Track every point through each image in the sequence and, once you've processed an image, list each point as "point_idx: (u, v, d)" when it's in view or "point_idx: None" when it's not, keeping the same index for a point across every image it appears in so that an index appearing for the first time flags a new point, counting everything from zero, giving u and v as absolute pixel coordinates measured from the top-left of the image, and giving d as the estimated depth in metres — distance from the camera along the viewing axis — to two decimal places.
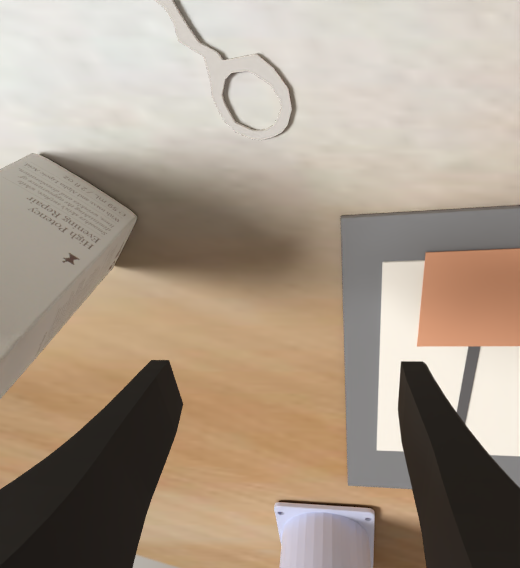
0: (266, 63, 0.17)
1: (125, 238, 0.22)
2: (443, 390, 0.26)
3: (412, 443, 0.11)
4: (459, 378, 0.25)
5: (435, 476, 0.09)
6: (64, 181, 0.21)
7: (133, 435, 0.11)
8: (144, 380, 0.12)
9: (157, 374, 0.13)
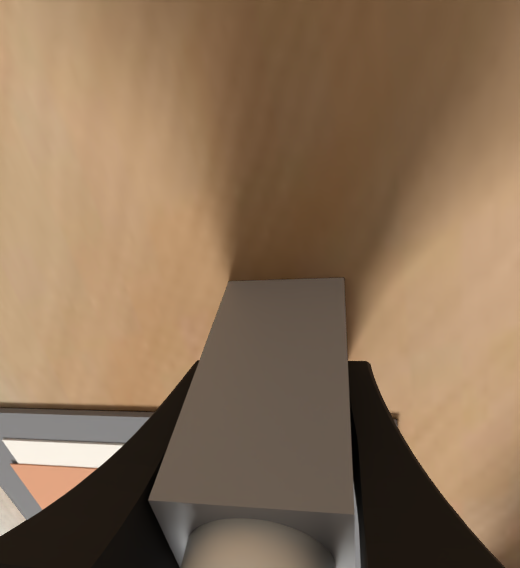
0: None
1: None
2: None
3: (351, 441, 0.11)
4: None
5: (359, 472, 0.09)
6: None
7: None
8: None
9: None
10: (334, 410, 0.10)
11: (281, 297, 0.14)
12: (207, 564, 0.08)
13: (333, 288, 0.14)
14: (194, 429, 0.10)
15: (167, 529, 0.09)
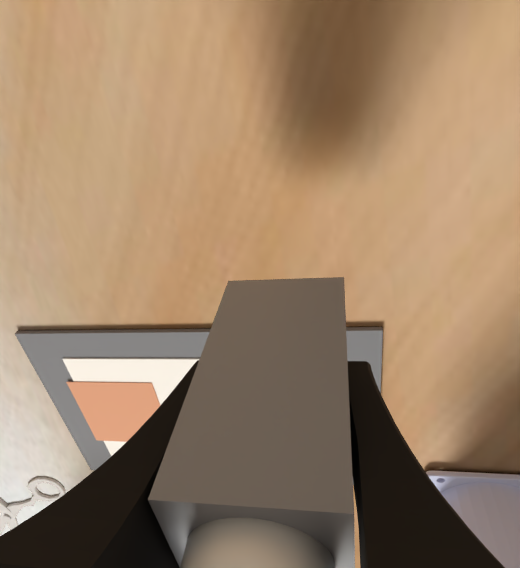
0: (29, 483, 0.37)
1: None
2: None
3: (351, 441, 0.11)
4: None
5: (359, 472, 0.09)
6: None
7: None
8: None
9: None
10: (334, 409, 0.10)
11: (281, 297, 0.14)
12: (207, 563, 0.08)
13: (333, 288, 0.14)
14: (194, 429, 0.10)
15: (167, 528, 0.09)
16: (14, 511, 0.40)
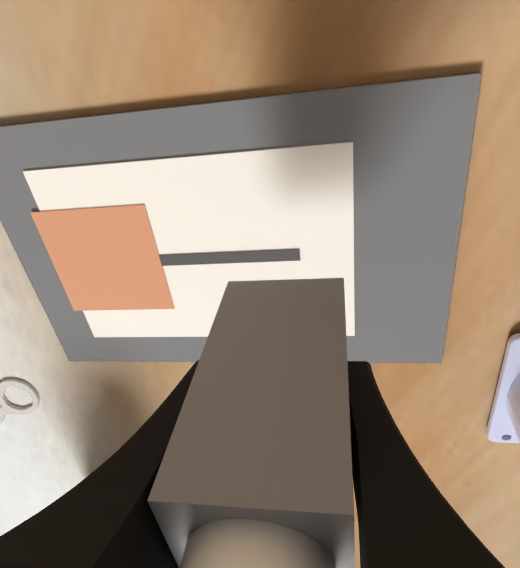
0: None
1: None
2: (233, 278, 0.21)
3: (351, 441, 0.11)
4: (213, 264, 0.21)
5: (359, 472, 0.09)
6: None
7: None
8: None
9: None
10: (334, 410, 0.10)
11: (281, 297, 0.14)
12: (206, 565, 0.08)
13: (333, 288, 0.14)
14: (193, 429, 0.10)
15: (166, 530, 0.09)
16: None
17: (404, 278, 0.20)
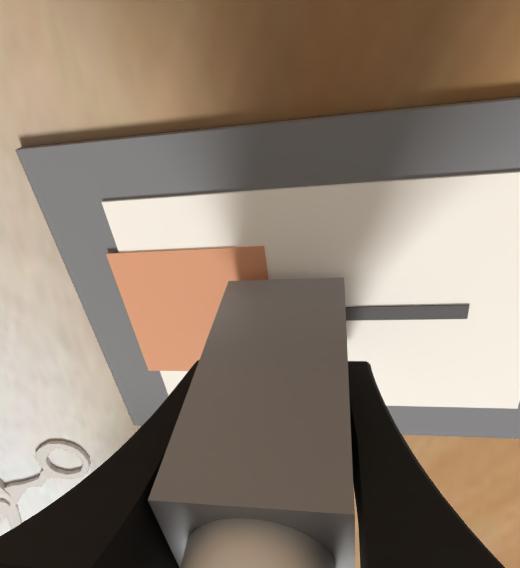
0: (37, 451, 0.25)
1: None
2: (367, 338, 0.16)
3: (351, 441, 0.11)
4: None
5: (359, 472, 0.09)
6: None
7: None
8: None
9: None
10: (334, 410, 0.10)
11: (281, 297, 0.14)
12: (207, 564, 0.08)
13: (333, 288, 0.14)
14: (194, 429, 0.10)
15: (167, 529, 0.09)
16: (14, 494, 0.28)
17: None
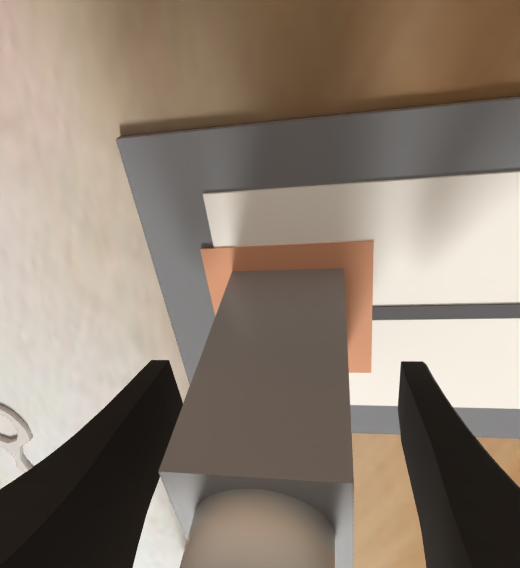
0: None
1: None
2: (470, 338, 0.16)
3: (412, 443, 0.11)
4: (446, 319, 0.16)
5: (435, 476, 0.09)
6: None
7: (133, 435, 0.11)
8: (144, 380, 0.12)
9: (157, 374, 0.13)
10: (335, 390, 0.10)
11: (283, 286, 0.14)
12: (215, 530, 0.08)
13: (333, 278, 0.14)
14: (201, 407, 0.10)
15: (175, 500, 0.09)
16: None
17: None
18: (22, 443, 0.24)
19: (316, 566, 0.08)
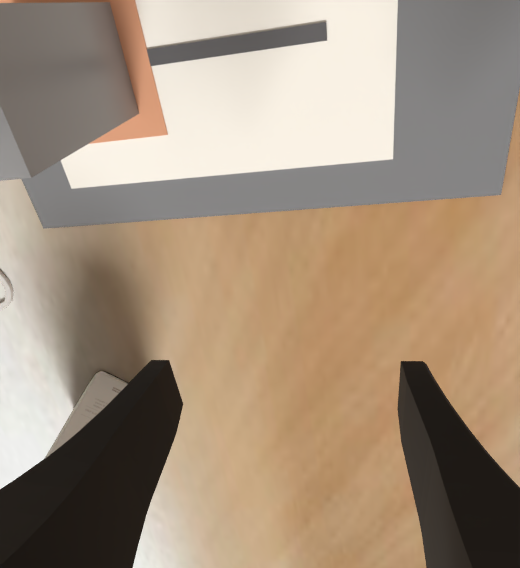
0: None
1: (109, 386, 0.28)
2: (240, 80, 0.17)
3: (412, 443, 0.11)
4: (215, 60, 0.17)
5: (435, 476, 0.09)
6: None
7: (133, 435, 0.11)
8: (144, 380, 0.12)
9: (157, 374, 0.13)
10: None
11: None
12: None
13: None
14: None
15: None
16: None
17: (461, 60, 0.16)
18: None
19: None
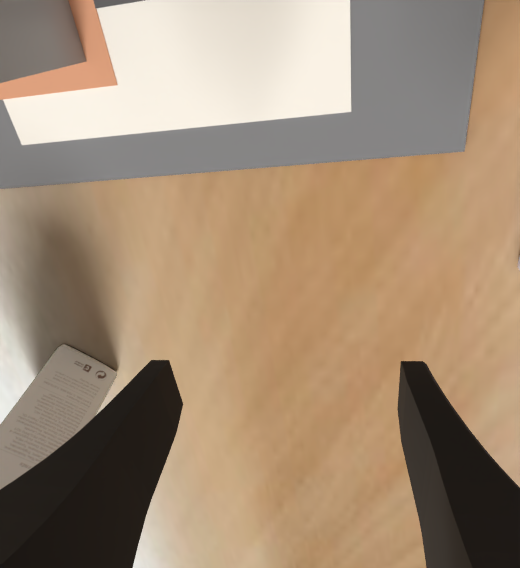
0: None
1: (71, 359, 0.27)
2: (189, 24, 0.16)
3: (412, 443, 0.11)
4: (163, 1, 0.16)
5: (435, 476, 0.09)
6: None
7: (133, 435, 0.11)
8: (144, 380, 0.12)
9: (157, 374, 0.13)
10: None
11: None
12: None
13: None
14: None
15: None
16: None
17: (418, 1, 0.15)
18: None
19: None
